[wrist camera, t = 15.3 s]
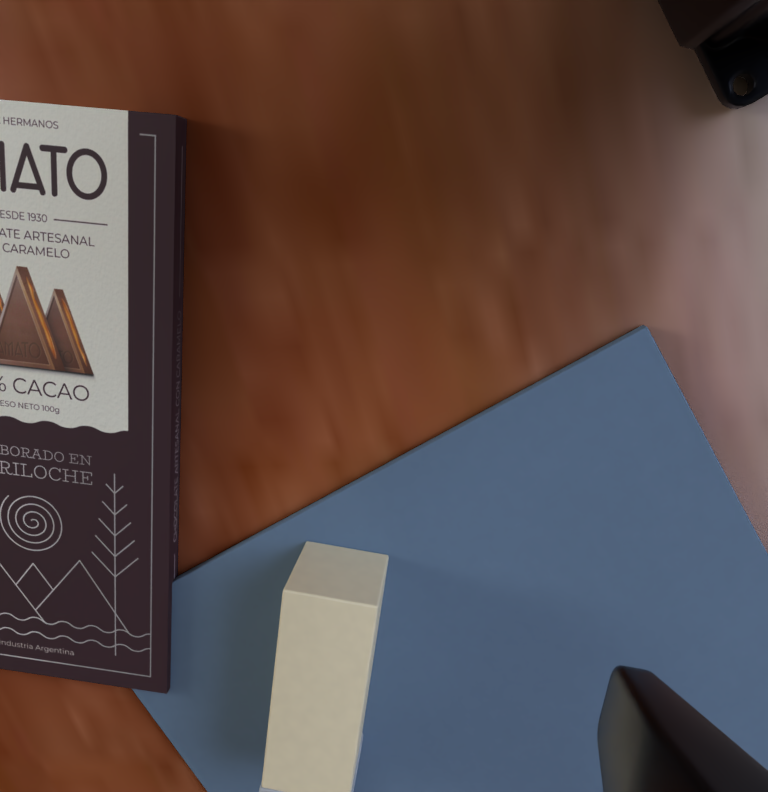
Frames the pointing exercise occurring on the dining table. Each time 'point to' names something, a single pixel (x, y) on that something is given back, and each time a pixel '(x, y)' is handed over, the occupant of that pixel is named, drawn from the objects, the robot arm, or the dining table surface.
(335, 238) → the dining table surface
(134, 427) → the chocolate bar
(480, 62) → the dining table surface
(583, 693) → the placemat
